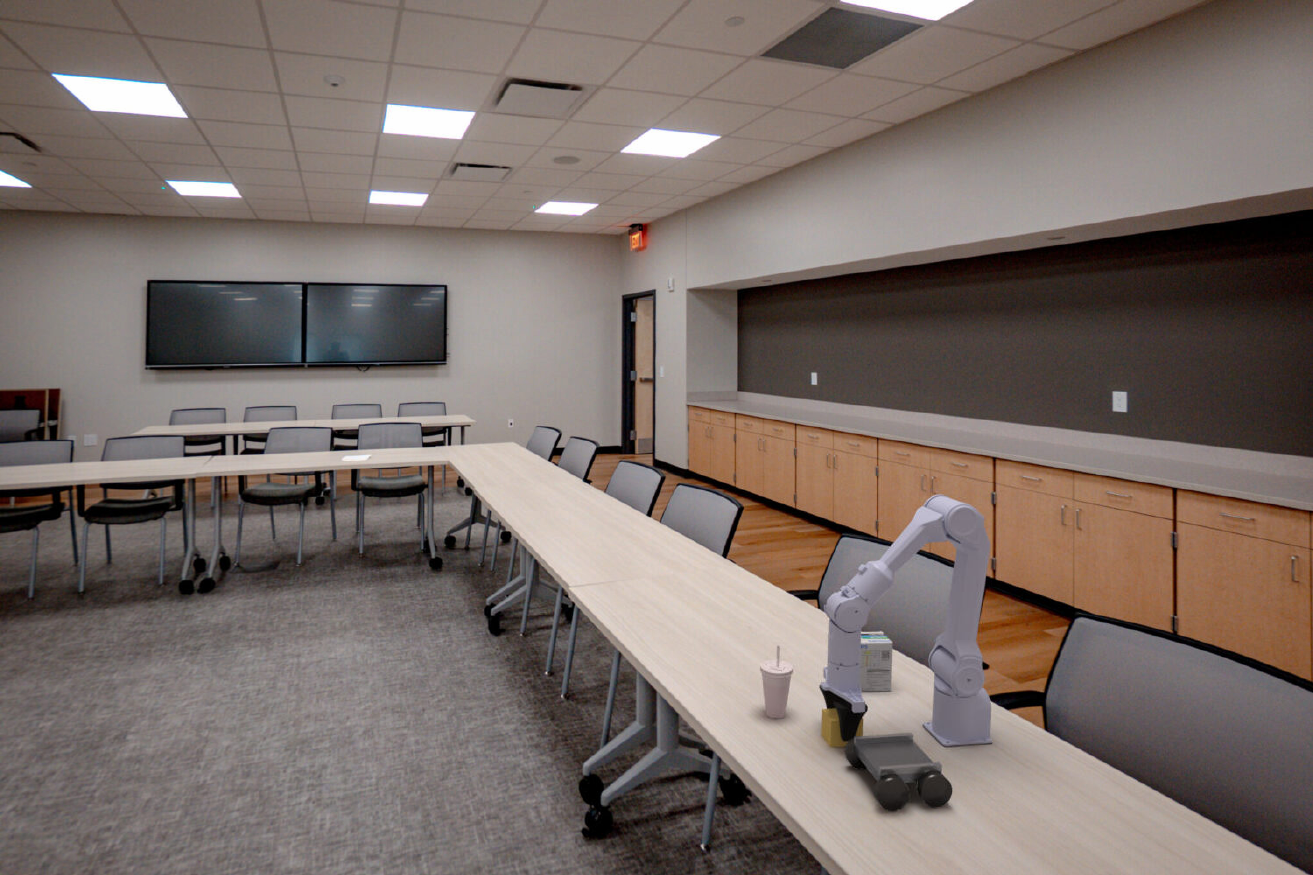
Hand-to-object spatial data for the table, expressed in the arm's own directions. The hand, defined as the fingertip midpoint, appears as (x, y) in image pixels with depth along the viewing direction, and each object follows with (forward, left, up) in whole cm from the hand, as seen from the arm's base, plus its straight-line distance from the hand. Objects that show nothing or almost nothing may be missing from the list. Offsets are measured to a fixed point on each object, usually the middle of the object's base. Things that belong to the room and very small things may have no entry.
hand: (841, 732), depth 132 cm
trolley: (-3, +15, -1) cm, 15 cm away
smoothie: (+9, -11, -2) cm, 14 cm away
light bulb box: (-13, -21, -2) cm, 25 cm away
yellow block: (0, 0, -2) cm, 2 cm away
